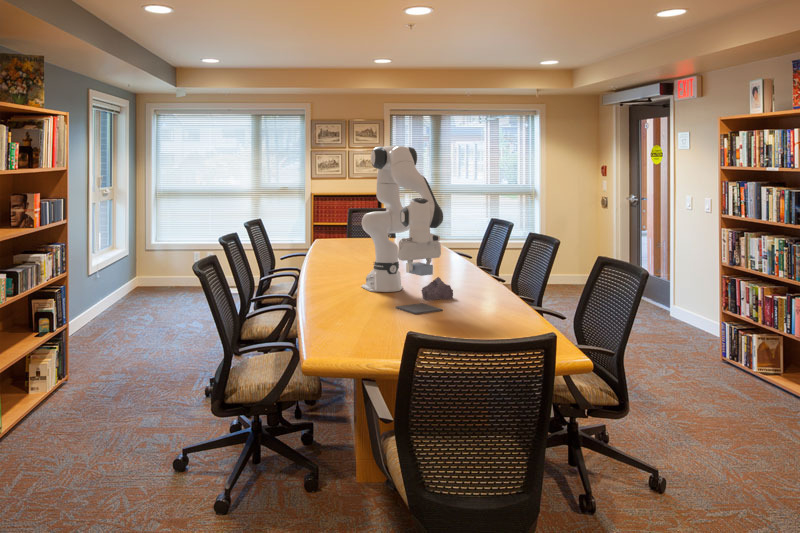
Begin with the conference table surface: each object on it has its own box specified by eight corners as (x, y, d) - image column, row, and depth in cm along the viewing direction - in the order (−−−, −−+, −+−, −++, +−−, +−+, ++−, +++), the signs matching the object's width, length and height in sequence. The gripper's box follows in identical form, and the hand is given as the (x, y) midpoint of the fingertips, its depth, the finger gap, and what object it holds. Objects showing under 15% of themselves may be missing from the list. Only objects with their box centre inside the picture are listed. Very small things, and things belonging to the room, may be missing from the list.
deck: (432, 274, 287) (432, 264, 286) (421, 275, 284) (421, 266, 283) (417, 271, 296) (417, 262, 296) (406, 272, 293) (406, 263, 292)
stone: (422, 278, 310) (454, 276, 314) (419, 277, 316) (449, 275, 320) (423, 301, 311) (454, 299, 315) (419, 300, 317) (450, 297, 321)
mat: (395, 308, 294) (395, 306, 294) (422, 304, 302) (422, 303, 302) (415, 314, 282) (415, 312, 282) (442, 310, 290) (442, 308, 290)
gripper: (403, 239, 279) (403, 272, 281) (443, 236, 291) (442, 268, 293) (394, 237, 285) (394, 270, 287) (434, 235, 296) (434, 266, 298)
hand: (419, 269), depth 290 cm, fingers closed on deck, 6 cm apart
